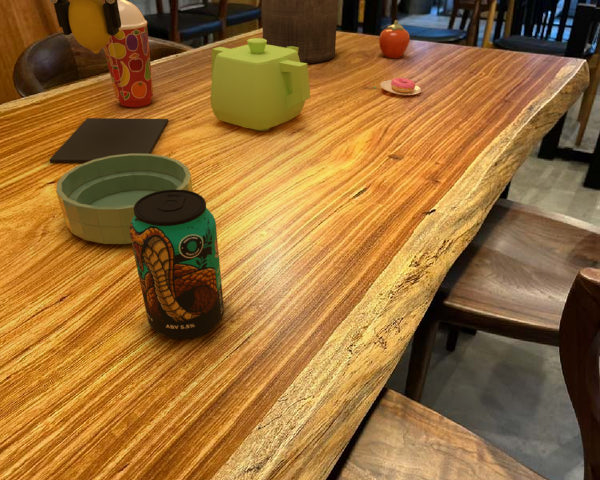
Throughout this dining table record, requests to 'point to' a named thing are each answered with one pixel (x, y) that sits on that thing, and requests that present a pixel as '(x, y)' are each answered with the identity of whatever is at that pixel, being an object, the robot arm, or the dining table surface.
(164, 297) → the beverage can
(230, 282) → the dining table surface
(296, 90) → the teapot
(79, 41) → the lemon
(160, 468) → the dining table surface
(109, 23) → the robot arm
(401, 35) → the tomato
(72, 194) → the bowl
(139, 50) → the smoothie
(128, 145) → the mat
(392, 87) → the donut
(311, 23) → the planter
